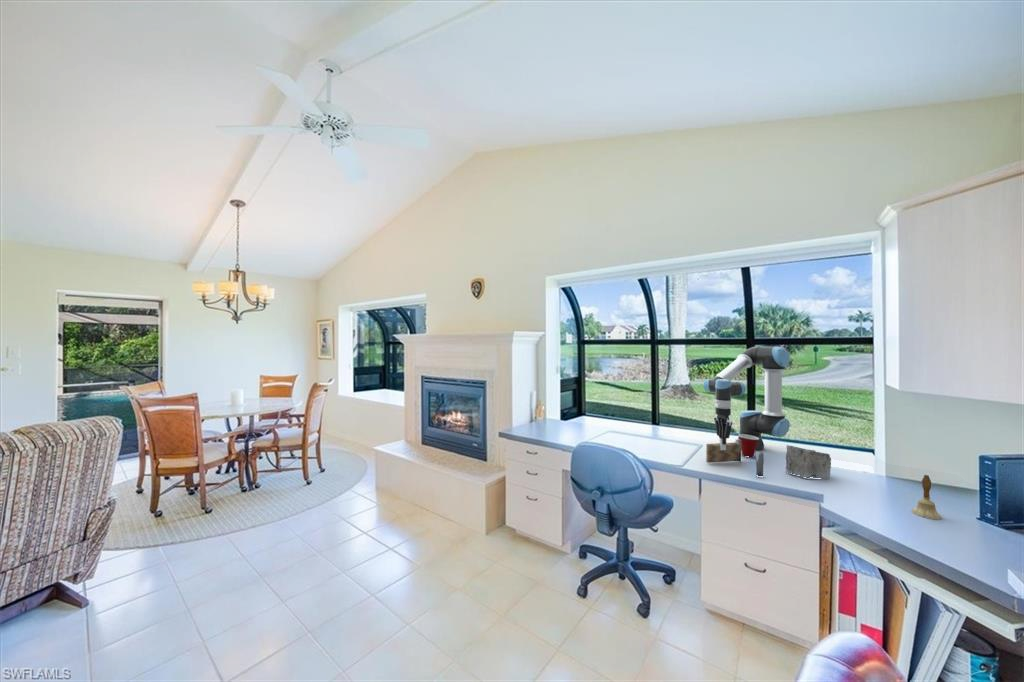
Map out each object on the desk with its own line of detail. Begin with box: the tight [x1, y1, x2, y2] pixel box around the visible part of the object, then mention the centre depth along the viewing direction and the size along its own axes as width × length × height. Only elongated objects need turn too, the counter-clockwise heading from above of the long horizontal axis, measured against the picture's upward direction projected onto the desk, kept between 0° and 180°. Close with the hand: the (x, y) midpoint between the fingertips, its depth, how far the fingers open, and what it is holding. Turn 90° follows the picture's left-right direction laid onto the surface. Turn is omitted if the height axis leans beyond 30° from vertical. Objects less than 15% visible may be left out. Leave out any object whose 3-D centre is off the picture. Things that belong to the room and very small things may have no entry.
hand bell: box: [911, 474, 942, 521], centre depth 154 cm, size 8×8×16 cm
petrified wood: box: [785, 444, 832, 480], centre depth 198 cm, size 19×17×15 cm
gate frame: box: [734, 438, 765, 477], centre depth 208 cm, size 27×17×12 cm, turn 172°
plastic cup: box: [738, 433, 759, 458], centre depth 228 cm, size 11×11×12 cm
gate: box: [705, 441, 739, 464], centre depth 215 cm, size 20×1×10 cm, turn 100°
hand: (722, 449), depth 213 cm, fingers closed
